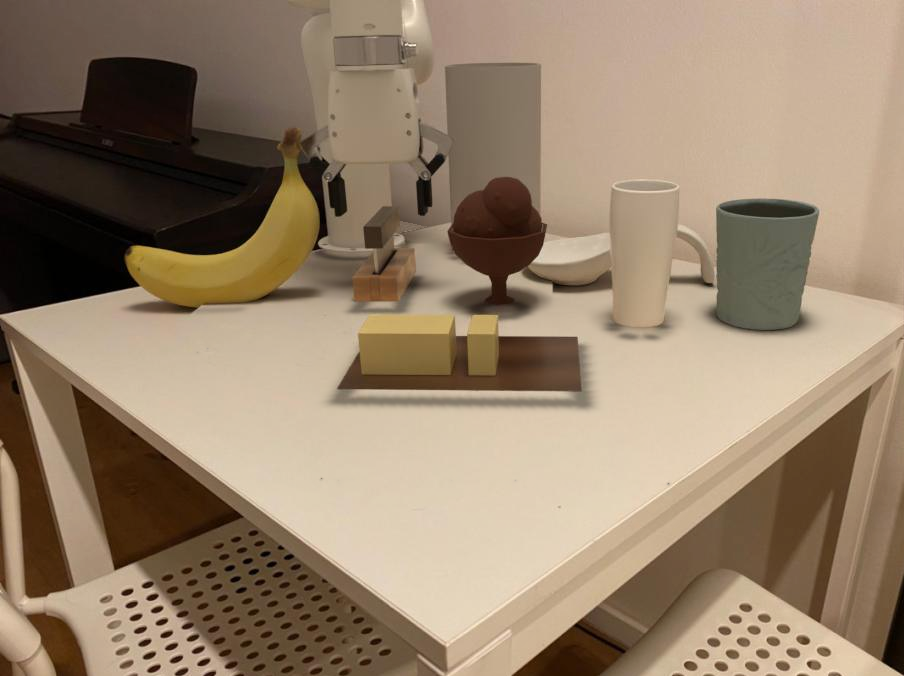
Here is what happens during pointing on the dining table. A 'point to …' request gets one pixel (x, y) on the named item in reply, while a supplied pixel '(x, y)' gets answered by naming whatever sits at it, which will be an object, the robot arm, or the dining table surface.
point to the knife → (382, 236)
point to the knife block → (385, 277)
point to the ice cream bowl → (498, 233)
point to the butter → (407, 344)
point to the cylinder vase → (493, 127)
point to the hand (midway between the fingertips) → (382, 214)
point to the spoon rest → (598, 258)
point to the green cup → (763, 261)
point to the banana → (239, 250)
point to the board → (517, 369)
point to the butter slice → (483, 345)
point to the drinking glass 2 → (642, 249)
